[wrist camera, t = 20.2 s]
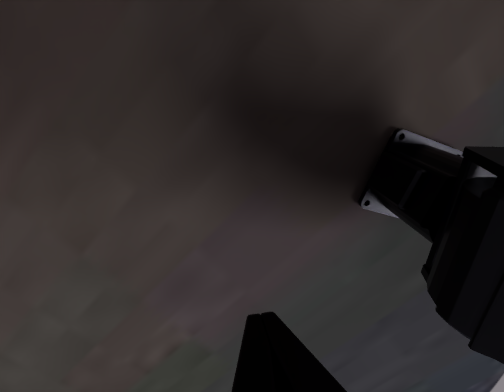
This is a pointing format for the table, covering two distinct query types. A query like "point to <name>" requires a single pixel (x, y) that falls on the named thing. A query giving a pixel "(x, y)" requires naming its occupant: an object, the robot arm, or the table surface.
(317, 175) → the table surface
